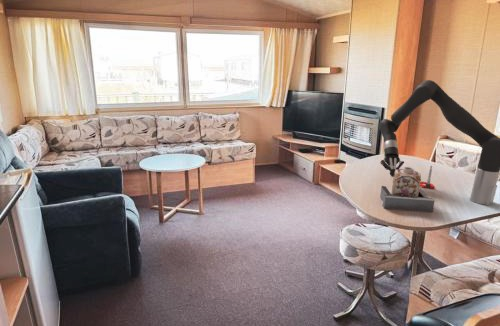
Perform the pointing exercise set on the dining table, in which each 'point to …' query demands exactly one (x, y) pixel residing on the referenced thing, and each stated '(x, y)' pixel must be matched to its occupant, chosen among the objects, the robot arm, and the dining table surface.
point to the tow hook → (428, 184)
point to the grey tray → (407, 201)
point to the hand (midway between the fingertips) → (393, 176)
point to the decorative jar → (406, 182)
